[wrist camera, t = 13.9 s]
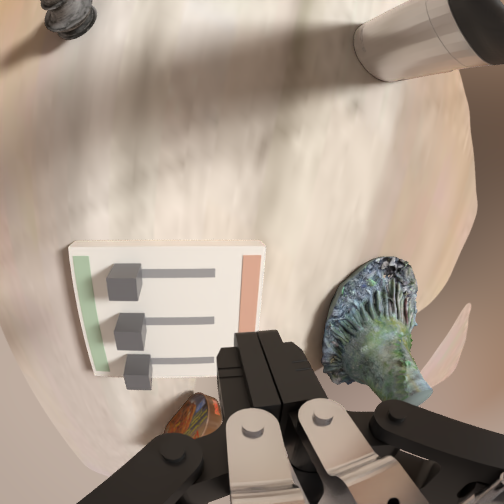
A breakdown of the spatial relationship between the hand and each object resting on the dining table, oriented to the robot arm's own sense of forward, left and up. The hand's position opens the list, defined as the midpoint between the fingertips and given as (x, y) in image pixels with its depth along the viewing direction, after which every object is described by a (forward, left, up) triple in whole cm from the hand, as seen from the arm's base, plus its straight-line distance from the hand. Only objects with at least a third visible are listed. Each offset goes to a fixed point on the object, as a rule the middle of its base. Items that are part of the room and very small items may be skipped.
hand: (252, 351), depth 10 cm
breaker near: (+8, +6, -21) cm, 23 cm away
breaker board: (+4, +12, -24) cm, 27 cm away
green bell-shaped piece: (-26, +16, -24) cm, 39 cm away
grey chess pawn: (+17, -24, -24) cm, 38 cm away
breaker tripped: (+8, +12, -21) cm, 26 cm away
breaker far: (+8, +18, -21) cm, 29 cm away
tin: (+3, +31, -24) cm, 40 cm away
